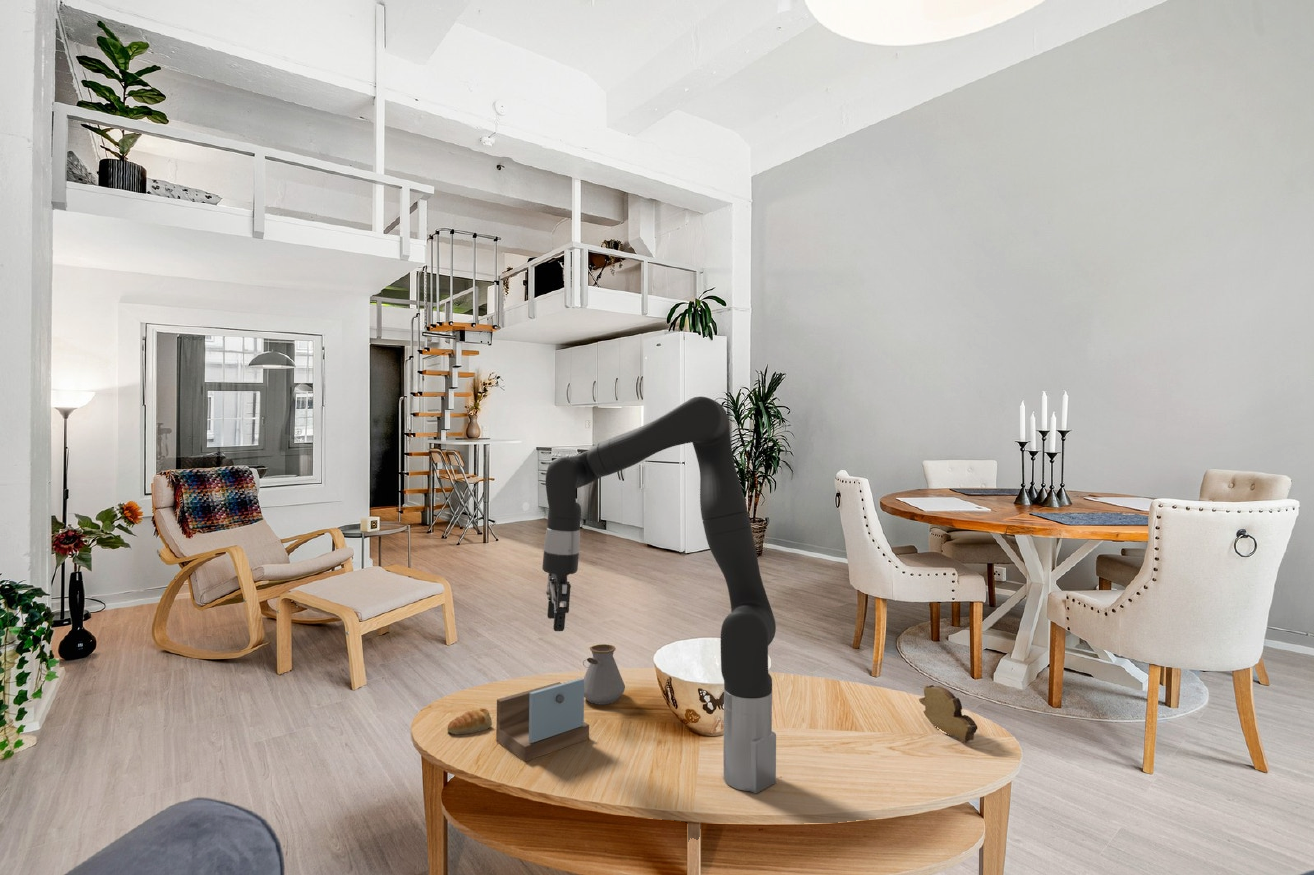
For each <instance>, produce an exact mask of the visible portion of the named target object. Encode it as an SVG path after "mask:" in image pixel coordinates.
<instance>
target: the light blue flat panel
mask: <svg viewBox="0 0 1314 875" xmlns="http://www.w3.org/2000/svg"><path fill="white" fill-rule="evenodd" d="M561 683H562V684H558V685H555V686H551V687H547V688H544V689H540V690H537V691H533V692H530V697H529V742H530V743H533V742H536V741H539V740H542V739H545V738H548V737H551V736H554V735H557V734H560V733H563V732H566V731H569V730H572V729H574V728H577V727H580V726H583V725H584V722H585V718H584V717H585V716H584V715H585V697H584V677H580V678H576V679H573V680H570V681H566V682H561Z"/></svg>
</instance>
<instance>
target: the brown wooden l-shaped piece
mask: <svg viewBox="0 0 1314 875" xmlns="http://www.w3.org/2000/svg"><path fill="white" fill-rule="evenodd" d="M562 683H563V682H560V681H558V682H554V683H552V684H548V685H543V686H540V687H537V688H536V687H535V688H534V689H529V690H526V691H523V692H519V693H514V694H512V695H507V696H504V697H500V698H497V699H496V732H495V733H496V737H495V738H496V740H495V741H496V742H497V743H498V744H500V745H501V746H503V747H504V748H505V749H507V751H509V752H510V753H512V754H513V755H514V756H516V757H517V758H518V759H520V760H521V761H523V762H528V761H531V760H533V759H536V758H539V757H542V756H544V755H548V754H551V753H553V752H555V751H559V750H561V749H564V748H567V747H569V746H572V745H575V744H578V743H581V742H584V741H586V740H588V739H590V724H589V723H587V722H585V721H584V725H583V726H580V727H577V728H574V729H572V730H569V731H566V732H563V733H560V734H557V735H554V736H551V737H548V738H545V739H542V740H539V741H536V742H533V743H530V742H529V697H530V692H533V691H537V690H540V689H544V688H547V687H551V686H555V685H558V684H562Z"/></svg>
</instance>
